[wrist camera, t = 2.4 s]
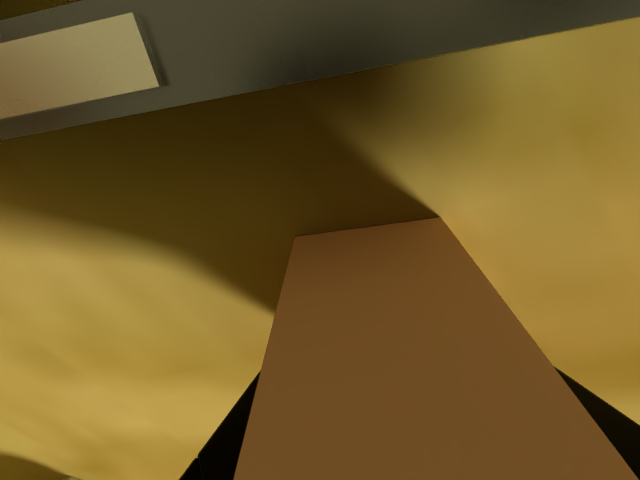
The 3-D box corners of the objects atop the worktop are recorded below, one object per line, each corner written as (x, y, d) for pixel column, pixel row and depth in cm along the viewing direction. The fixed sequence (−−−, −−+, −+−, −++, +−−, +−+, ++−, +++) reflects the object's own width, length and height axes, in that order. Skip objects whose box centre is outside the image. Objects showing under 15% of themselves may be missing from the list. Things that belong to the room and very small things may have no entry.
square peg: (440, 217, 9) (769, 652, 2) (440, 329, 11) (613, 744, 4) (294, 236, 10) (191, 642, 3) (318, 340, 12) (295, 727, 5)
